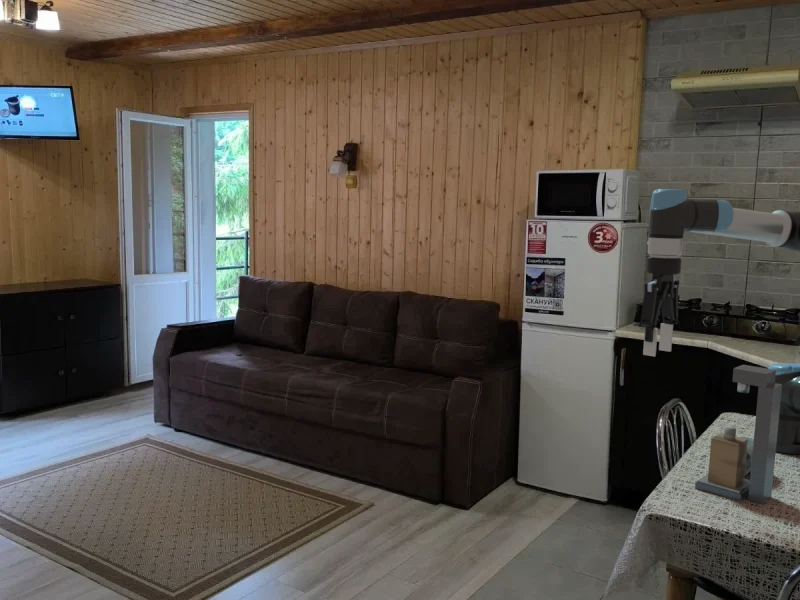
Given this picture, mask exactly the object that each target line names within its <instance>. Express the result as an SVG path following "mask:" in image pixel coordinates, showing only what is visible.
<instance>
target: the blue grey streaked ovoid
mask: <svg viewBox="0 0 800 600" xmlns="http://www.w3.org/2000/svg"><path fill="white" fill-rule="evenodd" d="M740 437H741V438H746V439H748V442H747V453H746V464H745V475H744V477H745V476H747V475H748V474H749V473H751V464H752V454H753V443H754V439H752V438H750V437H747V436H740Z"/></svg>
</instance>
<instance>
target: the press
mask: <svg viewBox="0 0 800 600" xmlns="http://www.w3.org/2000/svg"><path fill="white" fill-rule="evenodd" d="M775 376H776V370H773V369H768V367H767V368H766V367H760V366H753V365H747V364H742V365H739V366H736V367H734V368H733V371H732V382H733V383H737V390H736V391H737V392H738V393H742V394H749V393H750V388H751V387H750V386H755V387H758V389H757V401H756V412H755V422H754V435H753V441H754V443H753V454H752V464H751V471H750V478H749V479H747V478H744V481H743V482H742V483H740V484H739V485H738V486H736V487H735V488H734V487H731V486H727V485H724V484H720V483H716V482H713V481H709V480H708V473H706V475H704V476H702V477H701V478H700V479H698V480H695V483H694V488H695V490H700V491H702V492H707V493H709V494H713V495H717V496H719V497H720V496H721V497H724V498H727V499H731V500H734V501H738V502H741V501H743V500H744V499H745V498H746V497H748V500H747V501H749V502H753V503H757V504H760V505H764V504H765V503H766V502H767V501H769V499H771V498H772V493H773V486H774V485H773V482H774V473H775V463H776V453H777V452H776V443H777V433H778V422H779V412H780V402H781V391H782V384H777V383H775Z"/></svg>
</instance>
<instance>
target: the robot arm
mask: <svg viewBox="0 0 800 600" xmlns="http://www.w3.org/2000/svg"><path fill="white" fill-rule="evenodd" d="M650 199H651V200H650V205H649V206H650V207H649V213H648V218H649V222H648V223H649V225H648V226H649V227H648V241H647V242H646V245H647V254H648V255H649V256H648V257H647V258H646V272H647V273H649V274H651V279H650V282H649V281H648V282H645V283H644V293H643V294H644V295H643V302H642V307H641V309H642V310H641V315H640V322H639V323H640V327H642V328H644V335H643V349H642V355H643V356H649V357H656V355H657V341H658V330H659V329H658V327H657V324H658V319H659V314H660V312H661V316H662V322H663V323H662V322H661V323H660V332H659V342H658V351H664V352H667V353H668V352H672V345H673V344H672V343H673V333H674V332H673V330H674V325H678V323H679V320H678V319H679V288H680V280H679V279H675V278H674V275H680V274H681V270H682V259H681V258H680V256H682V255H683V247H684V246H683V245H684V232H688V233H694V234H696V233H697V234H703V235H710V236H719V237H727V238H733V239H742V240H748V241H749V240H751V241H758V242H764V243H766V245H767V246H769V247H773V248H779V249H784V250H788V251H792V252H796V253H800V210H797V211H796V210H793V211H792V210H791V211H790V210H780V209H779V210H774V211H773V212H765V211H759V210H754V209H753V210H751V209H745V208H737V207H733V206H732V204H731V203H730V202H729V201H728V200H725V199H719V198H710V199H709V198H689V197H688V196H687V191H686V190H685V189H678V188H676V189H675V188H672V189H671V188H666V189H665V188H662V189H661V188H659V189H655V190H654V191H653V192H652V194H651V198H650ZM660 310H661V311H660ZM767 369H773V370H776V376H775V383H777V384H782V391H781V402H780V412H779V422H778V433H777V443H776V453H781V454H789V455H800V363H797V362H796V363H795V362H794V363H793V362H792V363H789V362H783V363H780V362H778V363H772V364H770V365H769V366H768V367H767Z"/></svg>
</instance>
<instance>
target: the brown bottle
mask: <svg viewBox="0 0 800 600" xmlns="http://www.w3.org/2000/svg"><path fill="white" fill-rule="evenodd" d="M741 437H742V436H737V428H736V427H733V426H724V432H720V433H718V434H716V435H715V436H713V437H711V439H710V440H711V441H710V450H709V461H708V462H709V463H708V473H707V474H708V480H709V481H713V482H716V483H720V484H724V485H727V486H731V487H734V488H735V487H736V486H738V485H739V484H740V483H742V482H743V481H744V479H745V476H746V475H745V464H746V453H747V442H748V439H746V438H741ZM744 475H745V476H744Z"/></svg>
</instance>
